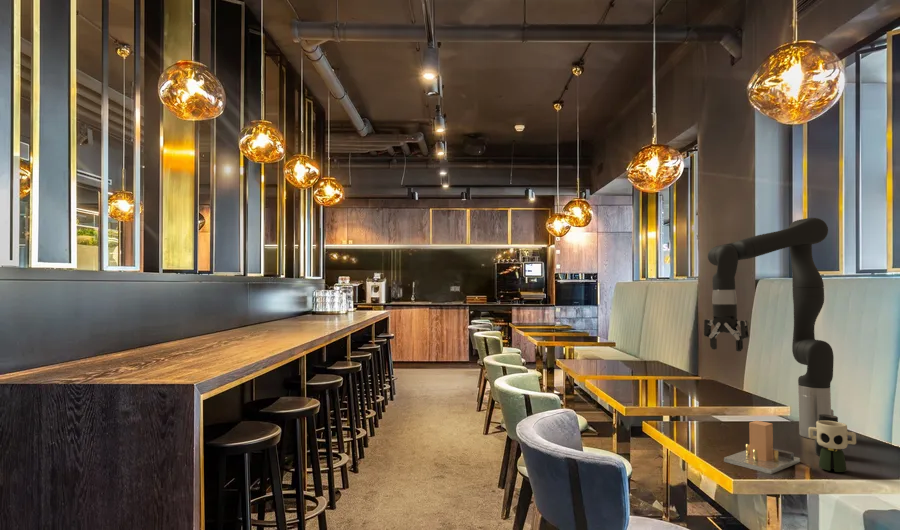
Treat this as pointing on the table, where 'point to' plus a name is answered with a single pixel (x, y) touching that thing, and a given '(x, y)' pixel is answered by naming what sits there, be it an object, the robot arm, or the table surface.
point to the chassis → (771, 466)
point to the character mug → (832, 444)
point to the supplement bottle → (821, 418)
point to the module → (761, 439)
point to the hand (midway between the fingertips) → (726, 350)
